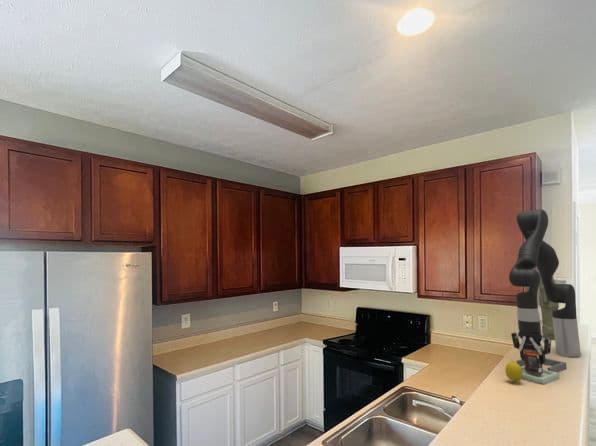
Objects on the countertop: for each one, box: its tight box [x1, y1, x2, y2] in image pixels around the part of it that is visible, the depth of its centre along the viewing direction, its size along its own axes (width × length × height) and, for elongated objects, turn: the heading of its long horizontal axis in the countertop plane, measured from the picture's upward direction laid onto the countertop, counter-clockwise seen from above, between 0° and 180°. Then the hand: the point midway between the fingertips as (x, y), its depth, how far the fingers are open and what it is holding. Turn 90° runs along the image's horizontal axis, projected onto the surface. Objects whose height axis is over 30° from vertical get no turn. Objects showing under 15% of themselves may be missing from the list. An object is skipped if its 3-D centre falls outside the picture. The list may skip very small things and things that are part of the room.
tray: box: [521, 365, 560, 386], centre depth 135 cm, size 12×12×2 cm
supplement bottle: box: [523, 343, 544, 375], centre depth 136 cm, size 6×6×11 cm
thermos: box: [538, 276, 560, 341], centre depth 194 cm, size 9×12×35 cm
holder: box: [516, 357, 567, 373], centre depth 146 cm, size 13×13×2 cm
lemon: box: [504, 360, 523, 384], centre depth 131 cm, size 6×6×8 cm
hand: (532, 362), depth 136 cm, fingers closed on supplement bottle, 6 cm apart
